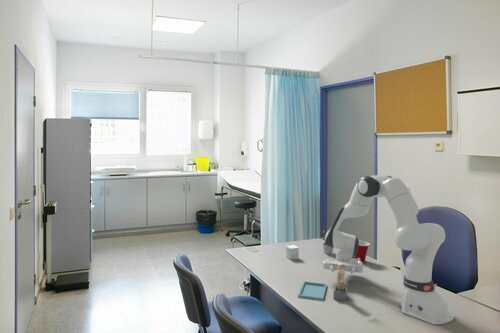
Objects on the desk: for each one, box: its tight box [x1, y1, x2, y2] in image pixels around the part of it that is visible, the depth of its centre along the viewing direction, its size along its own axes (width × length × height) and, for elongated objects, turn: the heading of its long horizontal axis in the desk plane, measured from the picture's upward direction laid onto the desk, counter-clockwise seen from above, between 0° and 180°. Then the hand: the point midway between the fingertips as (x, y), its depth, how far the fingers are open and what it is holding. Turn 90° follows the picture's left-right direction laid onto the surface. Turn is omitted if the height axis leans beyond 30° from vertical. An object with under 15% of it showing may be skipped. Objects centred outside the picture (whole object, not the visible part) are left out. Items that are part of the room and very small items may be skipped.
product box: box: [285, 244, 300, 260], centre depth 245 cm, size 6×6×7 cm
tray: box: [297, 280, 328, 301], centre depth 192 cm, size 18×12×2 cm, turn 164°
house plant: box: [319, 229, 334, 255], centre depth 253 cm, size 14×14×16 cm
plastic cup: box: [354, 239, 370, 263], centre depth 240 cm, size 11×11×12 cm
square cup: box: [333, 285, 348, 302], centre depth 185 cm, size 6×6×5 cm
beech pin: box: [336, 264, 346, 291], centre depth 184 cm, size 3×3×16 cm
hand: (342, 270), depth 195 cm, fingers open, 8 cm apart
